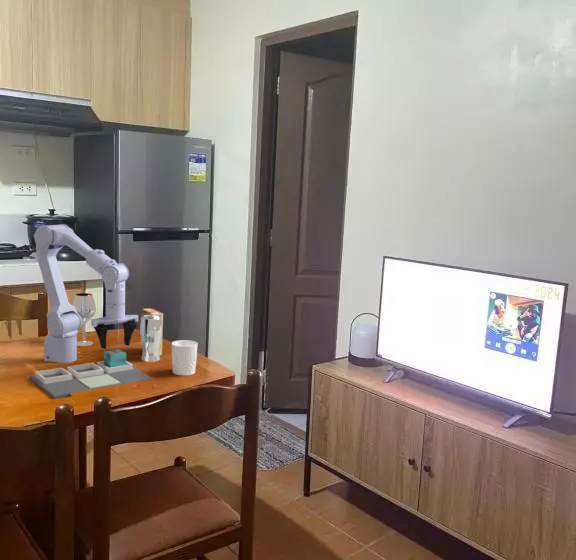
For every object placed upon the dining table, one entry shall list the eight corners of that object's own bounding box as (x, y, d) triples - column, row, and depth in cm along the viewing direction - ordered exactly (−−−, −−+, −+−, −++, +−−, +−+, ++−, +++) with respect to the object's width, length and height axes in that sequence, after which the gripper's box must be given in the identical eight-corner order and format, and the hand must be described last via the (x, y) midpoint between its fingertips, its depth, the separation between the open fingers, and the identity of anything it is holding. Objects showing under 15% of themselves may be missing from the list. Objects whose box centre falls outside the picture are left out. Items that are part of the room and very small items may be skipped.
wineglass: (68, 343, 218) (67, 293, 215) (89, 339, 223) (89, 291, 221) (77, 348, 212) (77, 297, 209) (99, 344, 217) (100, 295, 215)
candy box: (140, 352, 211) (141, 308, 209) (152, 350, 214) (153, 307, 211) (151, 358, 204) (151, 313, 202) (163, 356, 207) (163, 312, 204)
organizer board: (29, 378, 178) (29, 370, 178) (122, 363, 197) (122, 356, 197) (54, 398, 163) (54, 390, 163) (152, 380, 182) (152, 373, 181)
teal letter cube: (104, 367, 190) (104, 351, 189) (119, 364, 193) (119, 349, 192) (110, 371, 186) (110, 355, 185) (126, 368, 189) (126, 352, 188)
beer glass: (156, 365, 197) (156, 320, 194) (136, 363, 198) (136, 318, 196) (164, 359, 204) (165, 315, 201) (145, 357, 205) (145, 314, 203)
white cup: (174, 370, 193) (174, 339, 191) (198, 371, 193) (199, 340, 191) (168, 377, 185) (169, 345, 184) (194, 379, 185) (195, 347, 183)
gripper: (98, 307, 179) (98, 352, 181) (143, 303, 188) (142, 346, 190) (88, 303, 184) (88, 347, 186) (132, 299, 193) (132, 341, 195)
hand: (115, 346), depth 188 cm, fingers open, 7 cm apart
